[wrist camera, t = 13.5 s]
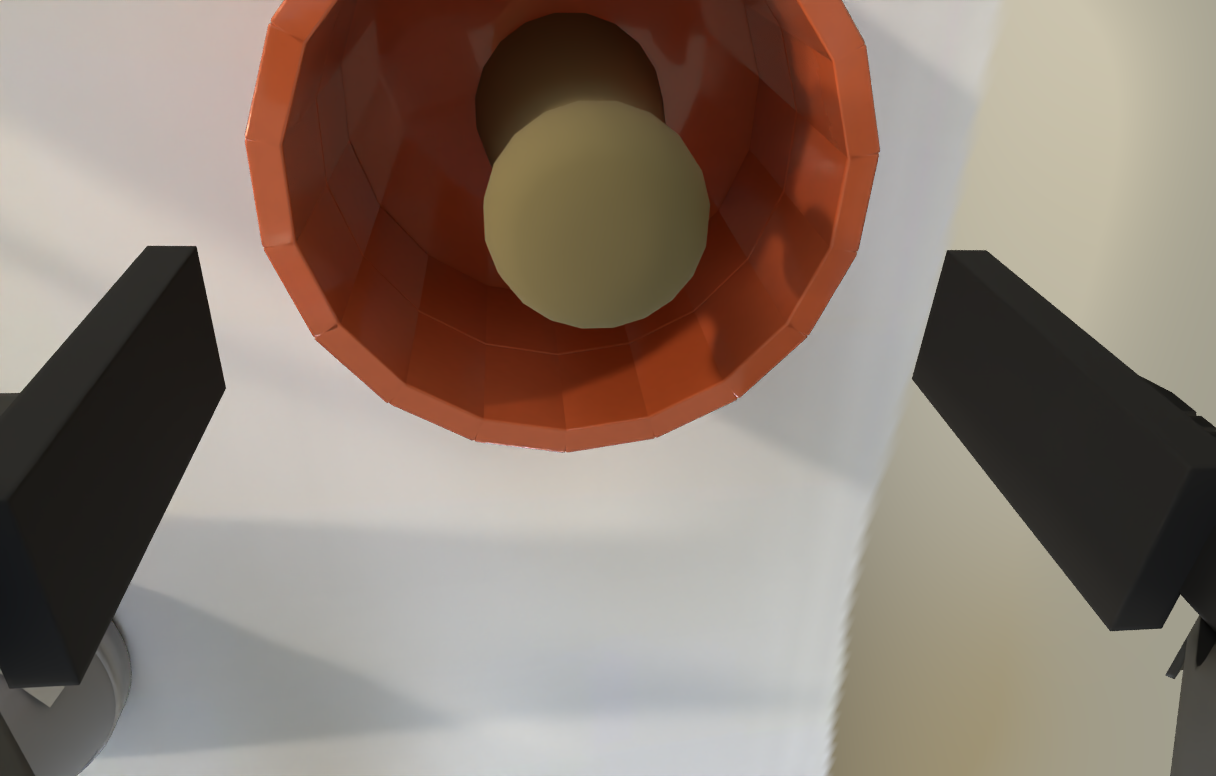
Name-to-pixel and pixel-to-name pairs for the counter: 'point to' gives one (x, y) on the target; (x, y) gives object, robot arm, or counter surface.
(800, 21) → the pot
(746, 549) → the counter surface
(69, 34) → the counter surface
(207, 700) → the counter surface
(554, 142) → the cork
